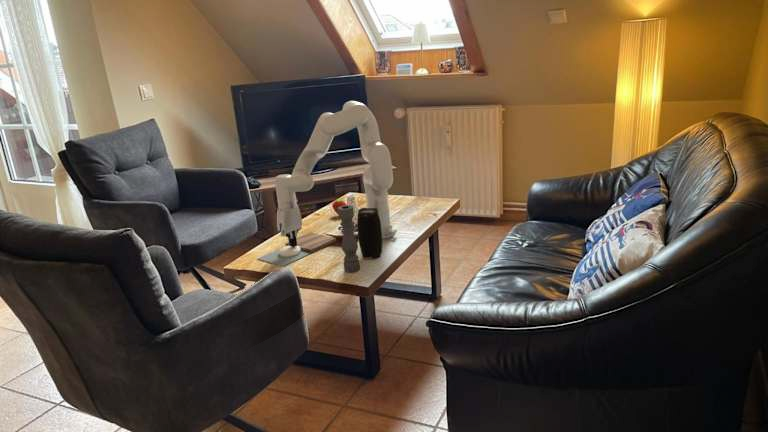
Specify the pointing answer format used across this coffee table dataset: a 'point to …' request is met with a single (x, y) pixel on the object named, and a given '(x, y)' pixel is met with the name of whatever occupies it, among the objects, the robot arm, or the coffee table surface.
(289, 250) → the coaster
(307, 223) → the coffee table surface
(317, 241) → the riser
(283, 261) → the mat
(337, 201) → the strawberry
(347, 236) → the candle holder
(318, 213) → the coffee table surface
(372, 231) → the portable speaker
